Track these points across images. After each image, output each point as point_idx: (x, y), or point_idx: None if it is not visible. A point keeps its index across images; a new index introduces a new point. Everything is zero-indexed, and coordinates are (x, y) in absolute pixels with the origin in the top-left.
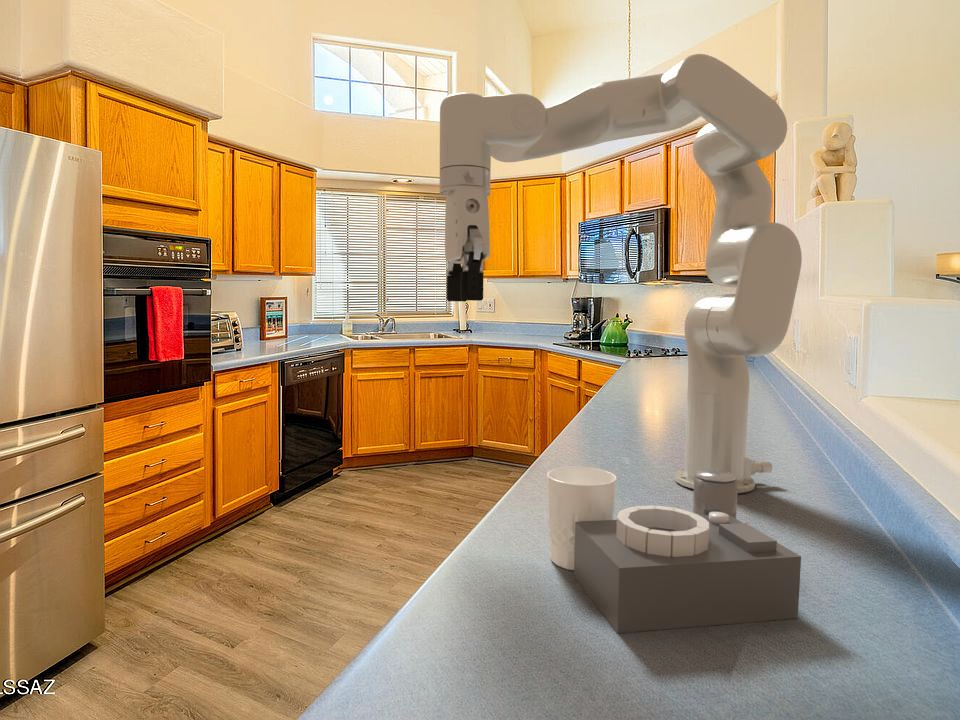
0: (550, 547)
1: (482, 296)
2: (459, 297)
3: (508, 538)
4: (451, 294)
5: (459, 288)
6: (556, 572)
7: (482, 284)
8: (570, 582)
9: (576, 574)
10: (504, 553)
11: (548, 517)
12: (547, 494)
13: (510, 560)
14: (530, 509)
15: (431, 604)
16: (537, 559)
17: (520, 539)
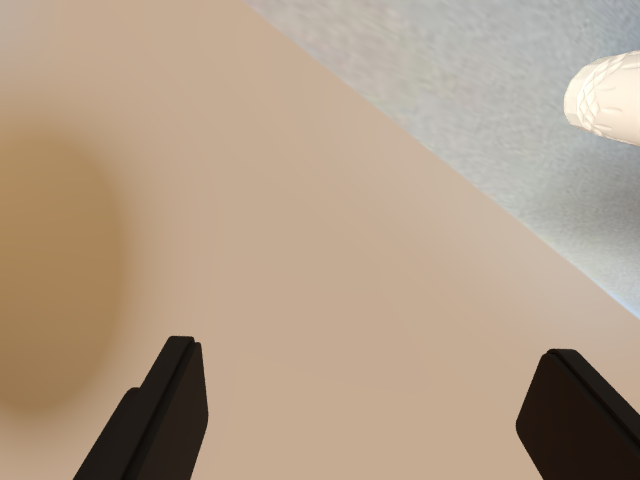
0: (591, 132)
1: (583, 361)
2: (197, 386)
3: (499, 152)
4: (198, 437)
5: (177, 437)
6: None
7: (638, 421)
8: None
9: None
10: (535, 172)
11: (604, 134)
12: (637, 145)
13: (555, 172)
14: (414, 79)
15: (594, 263)
16: (568, 143)
17: (509, 139)
